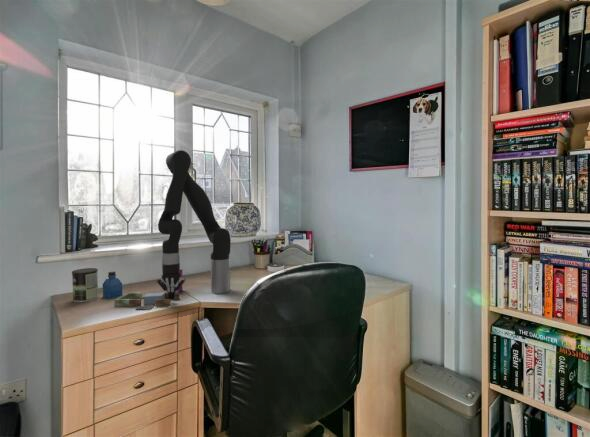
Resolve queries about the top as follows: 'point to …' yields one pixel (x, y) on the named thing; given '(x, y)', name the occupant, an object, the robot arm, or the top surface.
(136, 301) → the channel
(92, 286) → the coffee can
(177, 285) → the supplement box
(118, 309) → the top surface
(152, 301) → the slate block
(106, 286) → the perfume bottle
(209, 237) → the robot arm
